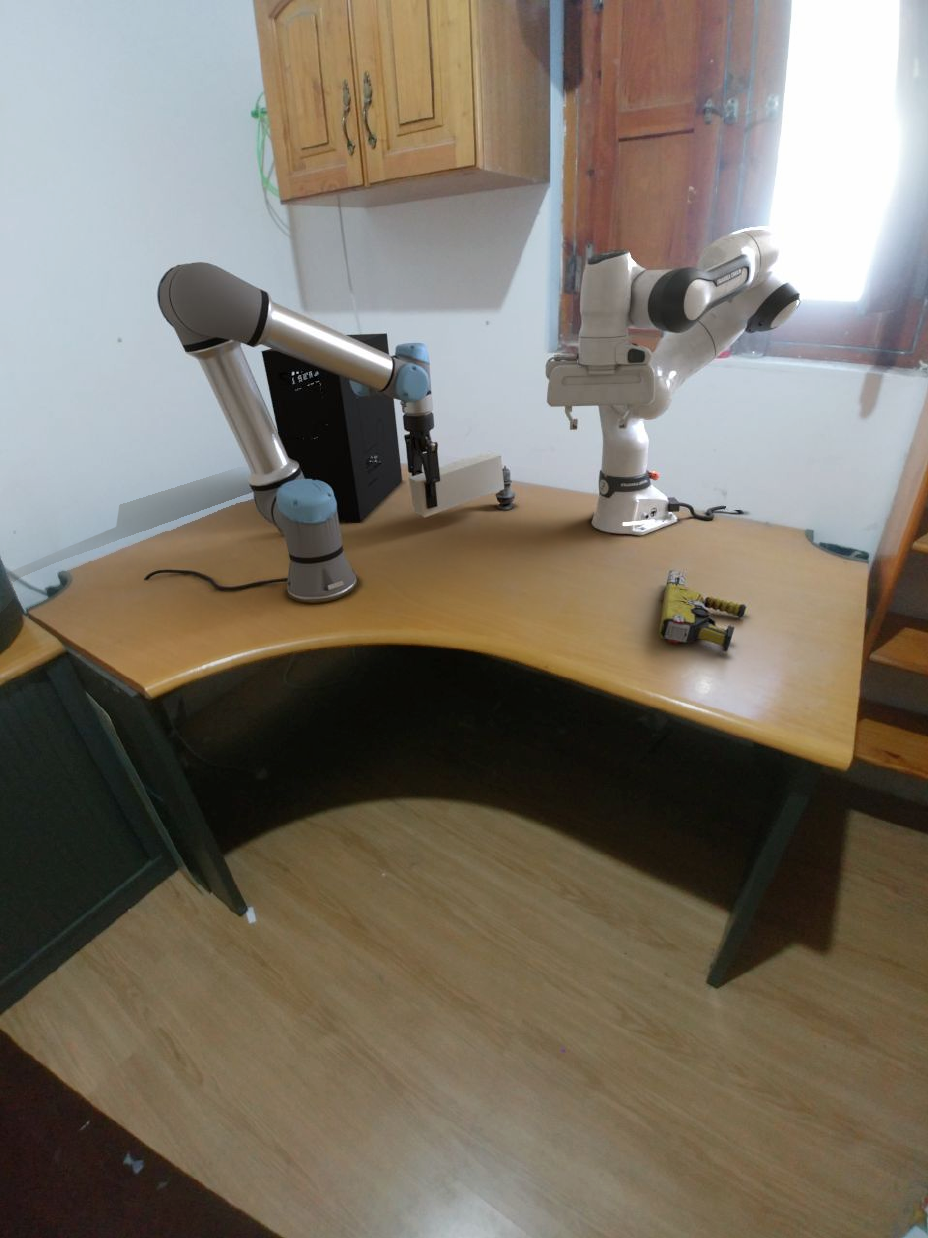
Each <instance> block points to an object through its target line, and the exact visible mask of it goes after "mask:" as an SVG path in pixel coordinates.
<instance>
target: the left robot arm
mask: <svg viewBox="0 0 928 1238" xmlns="http://www.w3.org/2000/svg"><path fill="white" fill-rule="evenodd" d="M156 290H157V291H156V299H157V304H158V308H159V311H160V313H161V314H162V317H163V318H164V319H165V320H166V322H167V323H168V324H169V325H170V326H171V327H172V328H173V329H174V332H175V334H176V336H177V338H178V339H179V342H180V344H181V346H182V348H183V351H184V352H185V354H187V355H189V356H191V357H193V358H195V359H196V360H197V361H198V363H199V365H200V367H201V369H202V371H203V373H204V375H205V377H206V380H207V382H208V384H209V387H210V388H211V390H212V392H213V395H214V397H215V399H216V401H217V402H218V405H219V408H220V409H221V411H222V413H223V415H224V417H225V420H226V421H227V425H228V426H229V428H230V430H231V433H232V434H233V436H234V438H235V441H236V443H237V445H238V447H239V449H240V451H241V454H242V455H243V457H244V460H245V462H246V464H247V466H248V468H249V470H250V473H249V476H248V479H247V482H248V484H249V487H250V488H251V491H252V494H253V502H254V505H255V507H256V509H257V511H258V513H259V514H260V515H261V517H262V518H263V519H265V520H266V521H267V522H269V523H270V524H271V525H273V526H274V527H275V528H276V529H277V528H278V529H279V530H281V531H282V532H283V533H284V534H283V533H282V534H283V536H284V539H285V545H286V549H287V553H288V558H289V565H288V573H287V577H283V578H282V577H281V578H274V579H267V580H261V581H255V582H250V583H246V584H241V585H236V586H235V585H234V586H223V585H222V586H221V585H219V584H218V583H216V581H214V579H213V578H211V577H210V576H207V575H206V574H203V573H201V572H198V571H194V570H188V569H187V570H185V569H157V570H154V571H152V572H149V573H148V574H147V575H146V576H145V577H144V578H143V580H144V581H148V580H149V579H150V578H151V577H153V576H156V575H159V574H187V575H194V576H197V577H199V578H202V579H205V580H207V581H208V582H209V583H211V584H210V585H212V586H213V587H214V588H216V589H218V590H220V591H222V590H223V591H238V590H243V589H247V588H252V587H256V586H261V585H268V584H269V585H270V584H276V583H284V582H285V583H286V590H287V594H288V596H289V598H290V599H292V600H293V601H296V602H298V603H303V604H323V603H324V604H325V603H329V602H333V601H336V600H339V599H343V598H344V597H346V596H348V595H349V594H351V593H352V592H353V591H354V590H355V589H356V588H357V585H358V581H357V575H356V573H355V570H354V569H353V568H352V566H351V565H350V562H349V560H348V558H347V556H346V554H345V552H344V545H343V540H342V533H341V527H340V521H339V520H338V513H337V503H336V500H335V497H334V493H333V490H332V488H331V487H330V486H329V485H328V484H326V483H325V482H323V481H319V480H312V479H305V478H304V475H303V473H302V471H301V469H300V466H299V464H298V462H297V461H294V460H292V459H290V458H288V456H287V453H286V451H285V449H284V446H283V444H282V442H281V439H280V437H279V435H278V431H277V427H276V424H275V423H274V421H273V419H272V416H271V414H270V410H269V409H268V406H267V404H266V402H265V399H264V397H263V395H262V393H261V390H260V387H259V385H258V383H257V380H256V378H255V377H254V374H253V372H252V369H251V367H250V364H249V362H248V360H247V357H246V355H245V353H244V351H243V348H242V344H243V345H246V346H249V347H251V348H256V347H258V346H260V345H261V346H263V347H266V348H268V349H274V350H276V351H279V352H281V353H284V354H286V355H289V356H291V357H294V358H296V359H299V360H301V361H304V362H306V363H309V364H311V365H314V366H316V367H319V368H321V369H324V370H326V371H329V372H331V373H334V374H336V375H339V376H341V377H344V378H346V379H349V381H350V385H351V388H352V390H353V391H354V393H355V394H356V395H357V396H360V397H362V396H371V395H381V396H385V397H389V398H394V400H397V401H400V402H399V404H400V405H401V409H402V410H401V411H402V413H403V415H402V421H403V429H404V431H405V432H408V434H404V435H403V439H404V442H405V450H406V462H407V463H406V464H407V472H408V474H411V477H412V476H415V475H418V474H421V473H425V478H426V482H425V483H424V484H425V492H426V502H427V508H428V509H429V508H433V507H437V494H436V482H439V481H440V472H439V468H440V464H439V453H438V451H439V449H438V447H439V444H438V442H437V441H434V442H433V440H432V436H431V433H430V432H431V430H433V429H434V428H435V418H434V417H435V416H434V413H433V412H432V411H433V410H434V403H433V402H434V401H433V392H432V383H431V382H432V381H431V380H432V379H431V368H430V367H431V363H430V358H429V357H430V356H429V351H428V347H427V345H426V344H425V343H424V342H423V343H422V342H407V343H402V344H397V345H396V346H395V352H394V353H395V354H393V355H390V354H389V355H388V354H386V353H384V352H382V351H380V350H377V349H375V348H373V347H371V346H369V345H366V344H364V343H362V342H360V341H358V340H356V339H353V338H351V337H349V336H347V335H348V334H346V333H345V334H344V333H342V332H340V331H337V330H336V329H333V328H331V327H330V326H327V325H325V324H322V323H321V322H318V321H316V320H315V319H312V318H310V317H307V316H305V315H303V314H301V313H299V312H297V311H294V310H292V309H290V308H287V307H286V306H283V305H282V304H279V303H277V302H275V301H273V300H272V297H271V295H270V293H269V292H267V291H266V290H263V289H261V288H259V287H257V286H255V285H253V284H251V283H249V282H248V281H246V280H244V279H242V278H240V277H238V276H236V275H235V274H233V273H231V272H229V271H227V270H226V269H223V268H222V267H220V266H217V265H215V264H212V263H209V262H203V261H196V262H190V263H182V264H177V265H174V266H173V267H170V268H169V269H168V270H167V271H166V272H165V273H164V274H163V276H162V277H161V278H160V280H159V282H158V286H157V289H156ZM278 529H277V530H278ZM279 530H278V531H279Z"/></svg>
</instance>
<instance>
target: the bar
mask: <svg viewBox="0 0 928 1238" xmlns="http://www.w3.org/2000/svg"><path fill="white" fill-rule="evenodd" d="M502 469H503V461H502V454H499V453H496V452H493V451H490V450H489V451H487V452H483V453H480V454H477V455H473V456H471V457H467V458H465V459H461V460H459V461H456V462H452V463H449V464H446V465H443V466H439V472H440V481H439V482H436V494H437V507H433V508H429V509H428V508H427V502H426V492H425V484H424V483H425V482H426V478H425V473H424V472H423V473H421V474H418V475H415V476H412V475H411V476H409V477H408V482H409V490H410V493H411V499H412V505H413V511H414V513H415V514H417V515H418V516H421V517H423V518H427V517H430V516H433V515H436V514H439V513H441V512H445V511H447V510H450V509H453V508H455V507H459V506H460V505H464V504H467V503H469V502H472V501H475V500H478V499H481V498H484V497H486V496H489V495H492V494H494V493H495V494H496V493H498V492H500V490H503V489H504V481H503V470H502Z"/></svg>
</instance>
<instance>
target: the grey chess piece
mask: <svg viewBox="0 0 928 1238" xmlns="http://www.w3.org/2000/svg"><path fill="white" fill-rule="evenodd" d="M502 470H503V481H504V489H503V490H500V491H497V492H495V497H496V500H497V502H498V504H497V505H496V508H497V509H498V510H507V511H508V510H512V509H514V508H515V507H516V505H515V504H514V503H513V502H514V500H515V499H516V495H517V493H515V492H514V491H512V488H511V487H512V485H511V484H512V483H513V481H512V480H511V470H510V469H508V468H507V466H506V465H504V466H503V468H502Z"/></svg>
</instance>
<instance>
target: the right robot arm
mask: <svg viewBox="0 0 928 1238" xmlns="http://www.w3.org/2000/svg"><path fill="white" fill-rule="evenodd" d="M785 255H786V242H785V238H784V237H783V235H782V234H781V233H780V231H779V230H777V229H775V227H769V226H757V227H749V228H744V229H741V230H737V231H734V232H731V233H729V234H726V235H723V236H721V237H719V238H718V239H716V240H714V241H712V242H711V243H710V244H708V245H707V246H706V247H704V249H703V250H702V252H701V253H700V255H699V258H698V260H697V264H696V267H694V266H693V267H692V266H687V267H678V268H672V269H671V268H670V269H647V268H646V267H643V266H641V265H640V264H638V263H637V262H636V261H635V260H634V259H633V258H632V256H631V252H630V251H629V250H626V249H613V250H607V251H603V252H600V253H597V254H594V255H592V256H591V257H590V258H588V259H587V261H586V263H585V265H584V267H583V272H582V279H581V286H580V300H579V302H580V303H579V312H580V317H581V324H580V329H579V332H578V347H577V348H578V349H577V350H578V352H577V353H567V354H560V353H559V354H554V355H553V356H551V357H550V358H549V359H548V360H547V361H546V362H545V377H546V378H547V380H548V382H547V383H548V385H547V393H546V403H547V404H548V406H550V408H553V407H554V408H557V407H558V408H559V407H564V413H565V415H566V417H567V420H568V421H569V431H575V430H578V424H579V423H578V422H579V421H578V418H574V417H573V415H572V412H573V407H598V413H599V418H600V420H599V421H600V427H601V433H602V453H601V468H600V470H599V474H598V492H599V493H598V498H597V502H596V507H595V511H594V514H593V517H592V520H591V525H592V526H593V527H594V528H595V529H597V530H599V531H601V532H605V533H611V534H623V535H625V534H626V535H632V536H633V535H634V536H645V535H646V534H650V533H652V532H654V531H657V530H660V529H662V528H665V527H668V526H670V525H672V524H675V523H677V522H678V516H677V515H676V514H675V513H676V512H680V508H681V507H682V508H686V509H688V510H689V512H690V514H691V516H692V517H694V518H696V519H698V520H701V521H702V520H703V521H708V520H712V519H714V518H715V514H714V513H713V512H716V511H721V510H726V509H725V508H726V506H724V505H718V506H713V507H709V508H708V509H707V510H706V514H707V515H701V514H698V513H696V512H695V509H694V507H693V506H692V505H691V504H689V503H686V502H680V501H678V499H676V497H674V496H672V497H671V496H669V497H667V496H666V495H665V494H664V493H663V492H661V491H660V490H659V489H658V488H656V487H655V486H654V485H652V483H651V480H653V481H658V479H659V478H660V473H659V472H657V471H654V470H651V471H649V470H648V469H647V466H648V458H649V457H648V456H649V446H650V439H649V435H648V433H647V431H646V428H645V425H644V421H651V420H656V419H658V418H660V417H661V416H663V415H664V414H665V413H666V412H667V410H668V409H669V408H670V405H671V403H672V400H673V396H674V394H675V392H676V391H677V390H678V389H679V388H680V387H681V386H682V385H683V384H684V383H685V382H686V381H687V380H688V379H689V378H691V377H693V376H694V375H695V374H696V373H698V372H700V370H701V369H703V368H704V367H706V366H707V365H708V364H709V363H711V362H712V361H714V360H715V359H717V358H718V357H719V356H720V355H722V354H723V353H724V352H725V351H727V349H728V348H730V347H731V346H732V345H733V344H734V343H735V342H736V341H737V340H738V339H739V338H740V337H741V336H742V335H743V333H744V332H745V333H748V334H754V333H757V332H758V333H759V332H760V333H763V332H769V331H772V330H774V329H776V328H778V327H780V326H782V324H784V323H785V322H787V321H788V320H789V319H790V318H791V317H792V316H793V315H794V313H795V312H796V310H798V308H799V307H800V305H801V302H802V298H803V292H802V290H801V287H800V286H799V284H798V283H797V281H796V280H793V279H792V277H791V276H790V274H789V273H788V272H787V270H786V269H785V268H784V267H783V266H782V264H783V261H784V259H785ZM629 329H633V330H634V329H635V330H647V331H648V330H649V331H663V332H668V334H666V335H665V336H663V337H662V338H661V339H660V340H659V341H658V342H657V344H656V348H655V350H654V351H653V352H652V351H651V349H649V348H648V347H646V346H643V345H640V344H637V343H635V342H630V341H629V340H628V339H629ZM733 511H734V512H736V513H738V514H739V515H744V514H745V513H744V511H743V510H742V509H741V510H733Z"/></svg>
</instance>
